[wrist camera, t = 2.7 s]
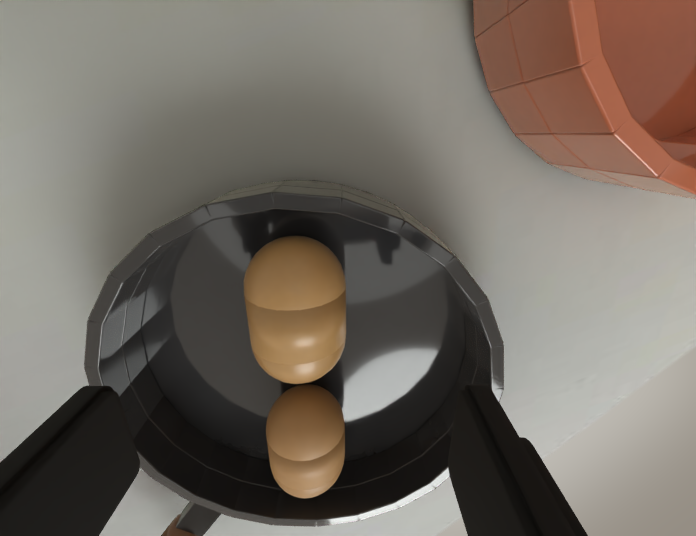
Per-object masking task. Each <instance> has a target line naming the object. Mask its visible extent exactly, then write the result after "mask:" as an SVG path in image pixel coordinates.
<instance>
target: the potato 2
mask: <svg viewBox="0 0 696 536" xmlns="http://www.w3.org/2000/svg"><path fill="white" fill-rule="evenodd" d="M266 438H267V445H268V453H269V460H270V467H271V471H272V474H273V476H274V479H275V480H276V482H277V483H278V485H279V486H280V487H281V488H282V489H283V490H284V491H285V492H287V493H288V494H290V495H292V496H295V497H298V498H313V497H316V496H319V495H320V494H322V493H324V492H325V491H327V490H328V489H329V488H330V487H331V486H332V485H333V484H334V483H335V482H336V480H337V479H338V477H339V475H340V473H341V471H342V467H343V464H344V457H345V423H344V416H343V412H342V409H341V407H340V404H339V402H338V401H337V400H336V398H335V397H334V396H333V395H332V394H331V393H330V392H329V391H328V390H326V389H324V388H322V387H320V386H317V385H312V384H304V385H298V386H295V387H292V388H290V389H288V390H287V391H285V392H284V393H283V394H282V395H281V396H280V397H279V398H278V399H277V400H276V401H275V403H274V404H273V406H272V408H271V409H270V412H269V415H268V418H267V423H266Z"/></svg>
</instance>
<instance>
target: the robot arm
mask: <svg viewBox="0 0 696 536" xmlns="http://www.w3.org/2000/svg"><path fill="white" fill-rule="evenodd" d="M139 468H140V459H139V456H138V453H137V450H136V447H135V444H134V441H133V438H132V435H131V432H130V429H129V426H128V422H127V419H126V416H125V413H124V410H123V407H122V404H121V401H120V398H119V395H118V393H117V392H115V391H114V390H113V388H112V387H110V386H85V387H83V388H81V389H80V390H78V391H77V392H76V393H75V394H74V395H73V396H72V397H71V398H70V399H69V400H68V401H67V402H66V403H64V404H63V405H62V406H61V407H60V408H59V409H58V410H57V411H56V412H55V413H54V414H53V415H51V416H50V417H49V418H48V419H47V420H46V421H45V422H44V423H43V424H42V425H41V426H40V427H38V428H37V429H36V430H35V431H34V432H33V433H32V434H31V435H30V436H29V437H28V438H27V439H25V440H24V441H23V442H22V443H21V444H20V445H19V446H18V447H17V448H16V449H15V450H14V451H12V452H11V453H10V454H9V455H8V456H7V457H6V458H5V459H4V460H3V461H2V462H1V463H0V536H99V534H100V533H101V531H102V530H103V528H104V527H105V525H106V523H107V522H108V520H109V519H110V517H111V516H112V514H113V512H114V511H115V509H116V508H117V506H118V504H119V503H120V501H121V500H122V498H123V497H124V495H125V493H126V492H127V490H128V489H129V487H130V485H131V484H132V482H133V481H134V479H135V478H136V476H137V474H138V471H139ZM448 469H449V474H450V478H451V481H452V485H453V488H454V491H455V495H456V498H457V501H458V504H459V508H460V511H461V514H462V518H463V521H464V524H465V527H466V531H467V534H468V536H588V535H587V534H586V532H585V530H584V529H583V527H582V525H581V524H580V522H579V521H578V519H577V517H576V516H575V514H574V512H573V511H572V509H571V507H570V506H569V504H568V502H567V501H566V499H565V497H564V496H563V494H562V492H561V491H560V489H559V487H558V486H557V484H556V483H555V481H554V479H553V478H552V476H551V474H550V473H549V471H548V469H547V468H546V466H545V464H544V463H543V461H542V459H541V458H540V456H539V455H538V453H537V451H536V450H535V448H534V446H533V445H532V444H531V442H530V441H529V440H527V439H526V438H519V436H518V434H517V433H516V431H515V429H514V427H513V426H512V424H511V422H510V420H509V419H508V417H507V415H506V414H505V412H504V410H503V408H502V407H501V405H500V403H499V401H498V400H497V398H496V396H495V394H494V393H493V391H492V389H491V388H490V387H489V386H488V385H466V386H465V388H464V390H460V391H459V392H458V396H457V403H456V409H455V416H454V423H453V430H452V436H451V443H450V450H449V457H448Z"/></svg>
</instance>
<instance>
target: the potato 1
mask: <svg viewBox="0 0 696 536" xmlns="http://www.w3.org/2000/svg"><path fill="white" fill-rule="evenodd" d="M244 298H245V305H246V312H247V319H248V327H249V334H250V341H251V347H252V351H253V354H254V356H255V358H256V360H257V362H258V363H259V365H260V366H261V367H262V368H263V370H265V371H266V372H267V373H268V374H269V375H270V376H272V377H273V378H275V379H277V380H280V381H282V382H285V383H290V384H302V383H308V382H312V381H314V380H317V379H319V378H321V377H322V376H324V375H325V374H326V373H328V372H329V371H330V370H331V369H332V368H333V367H334V366H335V365H336V363H337V362H338V360H339V359H340V357H341V355H342V352H343V349H344V347H345V339H346V283H345V275H344V272H343V269H342V266H341V264H340V262H339V260H338V259H337V257H336V256H335V254H334V253H333V252H332V251H331V250H330V249H329V248H328V247H326V246H325V245H324V244H322V243H321V242H319V241H317V240H314V239H312V238H309V237H305V236H286V237H281V238H278V239H275V240H273V241H271V242H269V243H268V244H266V245H265V246H263V247H262V248H261V249H260V250H259V251H258V252H257V253H256V254H255V255H254V257H253V258H252V259H251V261H250V263H249V265H248V268H247V270H246V272H245V277H244Z"/></svg>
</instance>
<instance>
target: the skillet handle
mask: <svg viewBox="0 0 696 536" xmlns="http://www.w3.org/2000/svg"><path fill="white" fill-rule="evenodd" d="M220 515H221V513H219V512H216V511H214V510H211V509H209V508H206V507H203V506H201V505H198V504H196V503H193V502H189V503H188V505H187V506H186V507H185V509H184V510H183V511H182V513H181V514H180V515H178V516H177V517H176V518H175V519H174V520H173V521H172V522H171V524H170V525H169V526H168V527H167V529H166V530H165V531H164V533H163V534H162V535H161V536H203V535H204V534H205V532H206V531H207V530H208V529H209V528H210V527H211V525H212V524H213V523H214V522H215V521H216V519H217V518H218V517H219V516H220Z"/></svg>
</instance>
